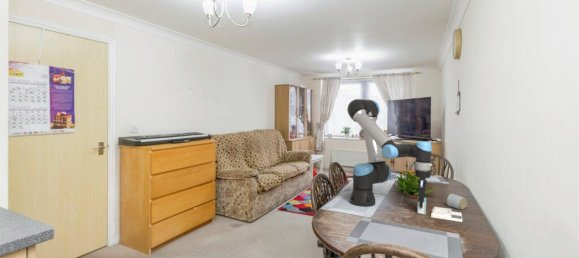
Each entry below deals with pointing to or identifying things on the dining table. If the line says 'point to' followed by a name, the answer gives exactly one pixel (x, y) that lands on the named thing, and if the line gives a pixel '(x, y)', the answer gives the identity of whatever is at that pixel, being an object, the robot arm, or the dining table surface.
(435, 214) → the outlet plate
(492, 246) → the dining table surface
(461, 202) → the ceramic mug
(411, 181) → the potted flower
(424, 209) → the block
